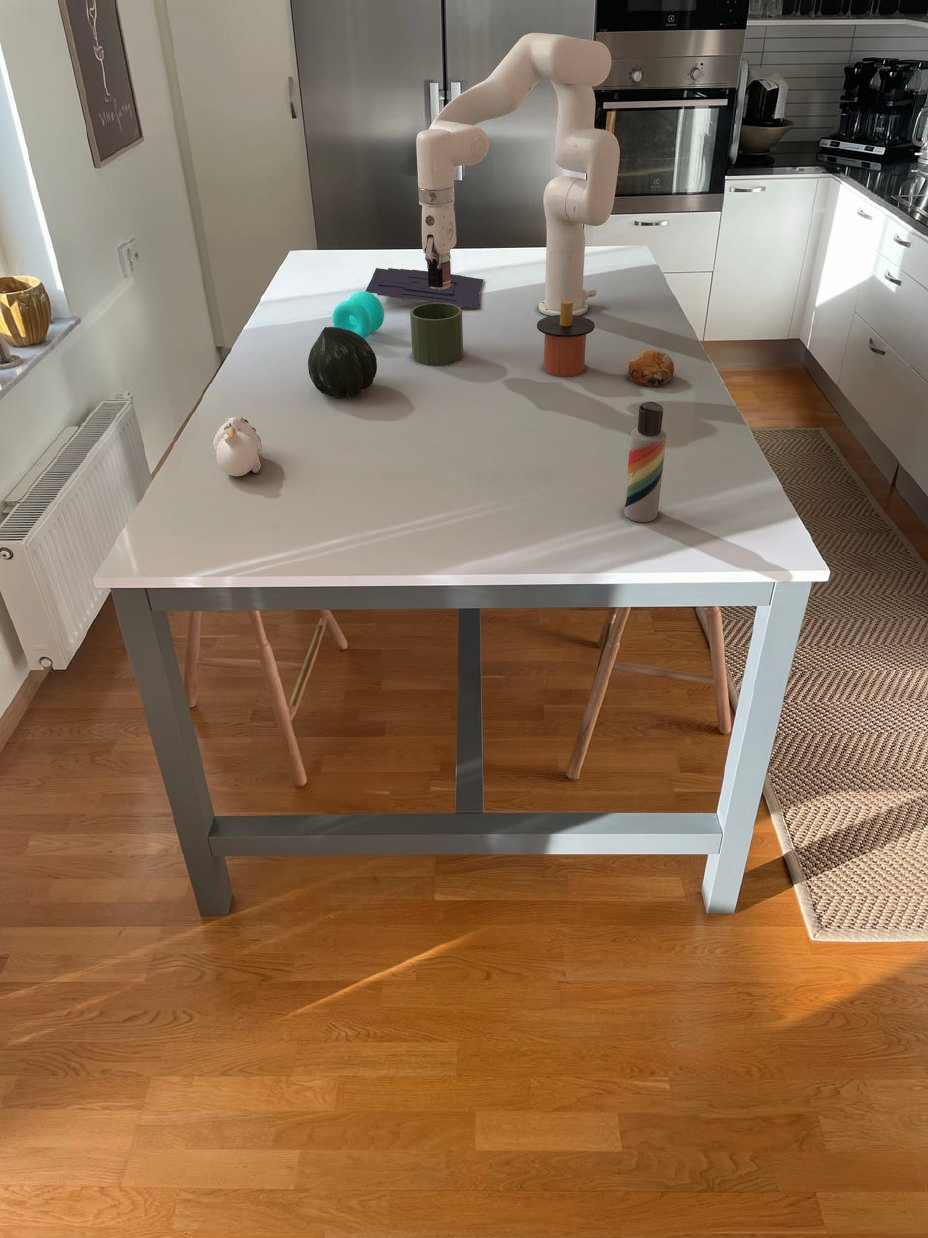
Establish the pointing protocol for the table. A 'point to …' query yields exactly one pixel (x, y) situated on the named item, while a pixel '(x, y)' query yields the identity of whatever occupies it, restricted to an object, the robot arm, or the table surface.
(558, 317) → the lid
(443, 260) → the pill bottle
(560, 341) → the cup
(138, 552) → the table surface
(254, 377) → the table surface
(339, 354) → the squash
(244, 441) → the white bird figurine
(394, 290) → the papers
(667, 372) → the bread roll
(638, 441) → the lotion bottle
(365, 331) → the donuts
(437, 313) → the pot
